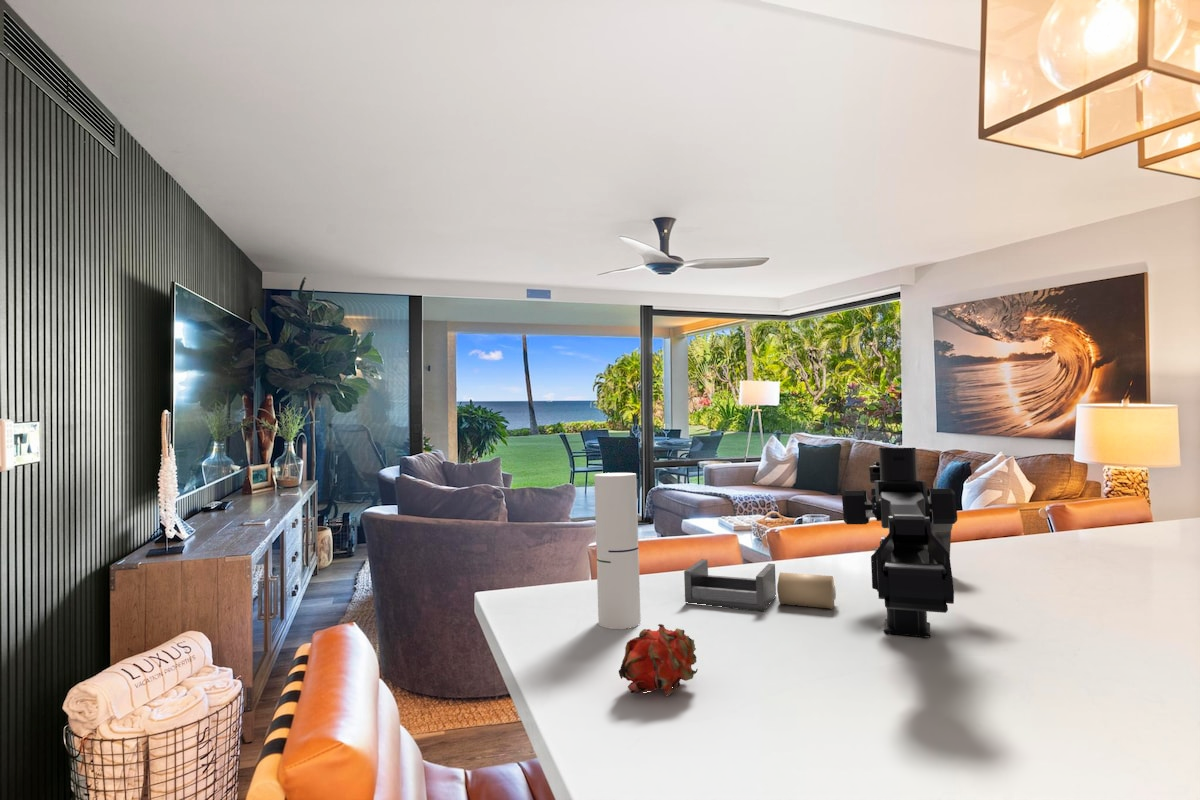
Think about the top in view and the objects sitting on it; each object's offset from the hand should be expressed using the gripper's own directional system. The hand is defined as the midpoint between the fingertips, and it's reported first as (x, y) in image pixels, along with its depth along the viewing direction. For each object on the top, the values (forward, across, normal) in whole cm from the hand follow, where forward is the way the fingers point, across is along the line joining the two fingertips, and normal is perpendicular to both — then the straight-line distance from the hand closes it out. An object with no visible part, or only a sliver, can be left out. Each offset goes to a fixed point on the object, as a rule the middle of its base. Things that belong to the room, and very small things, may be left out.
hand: (895, 505), depth 128 cm
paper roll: (-14, +16, +17) cm, 27 cm away
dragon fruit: (-58, +31, +21) cm, 69 cm away
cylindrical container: (-33, +45, +18) cm, 59 cm away
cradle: (-14, +30, +17) cm, 37 cm away
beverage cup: (+17, -7, +15) cm, 24 cm away
